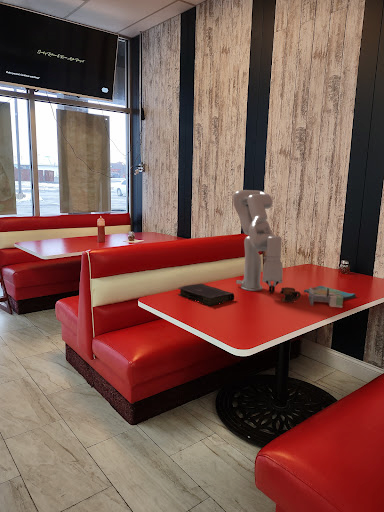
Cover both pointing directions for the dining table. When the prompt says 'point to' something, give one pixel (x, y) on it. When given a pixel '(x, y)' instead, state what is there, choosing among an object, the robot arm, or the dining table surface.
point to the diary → (205, 294)
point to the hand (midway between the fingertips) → (271, 293)
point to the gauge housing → (335, 300)
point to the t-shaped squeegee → (318, 296)
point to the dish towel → (323, 291)
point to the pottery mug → (290, 294)
